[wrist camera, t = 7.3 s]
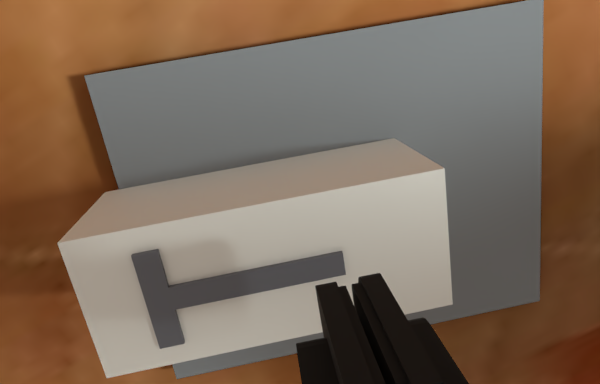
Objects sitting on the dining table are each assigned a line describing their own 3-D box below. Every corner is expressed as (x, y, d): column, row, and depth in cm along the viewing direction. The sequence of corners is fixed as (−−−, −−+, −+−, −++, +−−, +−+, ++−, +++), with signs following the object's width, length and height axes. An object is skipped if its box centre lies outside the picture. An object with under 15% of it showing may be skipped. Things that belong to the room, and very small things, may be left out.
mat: (534, -1, 19) (543, -3, 18) (532, 294, 23) (539, 300, 22) (89, 74, 17) (84, 75, 17) (178, 370, 22) (176, 379, 21)
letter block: (447, 169, 14) (54, 245, 13) (454, 307, 16) (105, 381, 15) (394, 138, 19) (105, 192, 18) (404, 245, 21) (138, 299, 20)
